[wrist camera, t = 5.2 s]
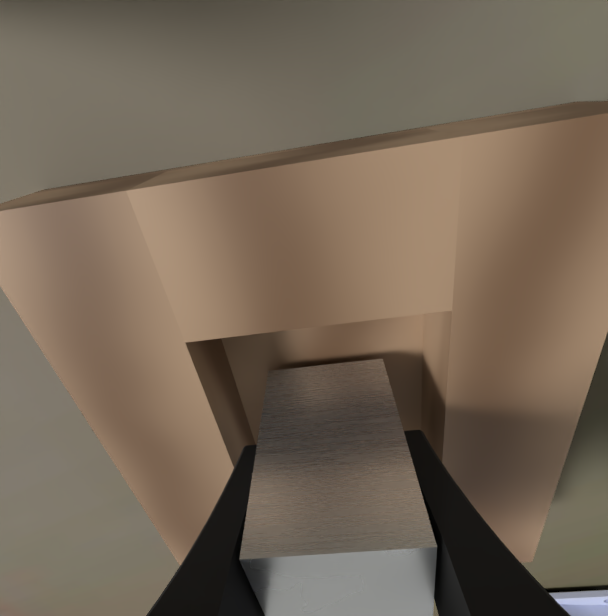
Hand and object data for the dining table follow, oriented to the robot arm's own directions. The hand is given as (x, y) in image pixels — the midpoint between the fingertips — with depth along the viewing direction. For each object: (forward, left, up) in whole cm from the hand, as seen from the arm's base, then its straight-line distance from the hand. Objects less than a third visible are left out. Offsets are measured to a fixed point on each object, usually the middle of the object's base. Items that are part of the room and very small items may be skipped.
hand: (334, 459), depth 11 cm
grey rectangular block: (0, 0, -3) cm, 3 cm away
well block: (0, 0, -4) cm, 4 cm away
